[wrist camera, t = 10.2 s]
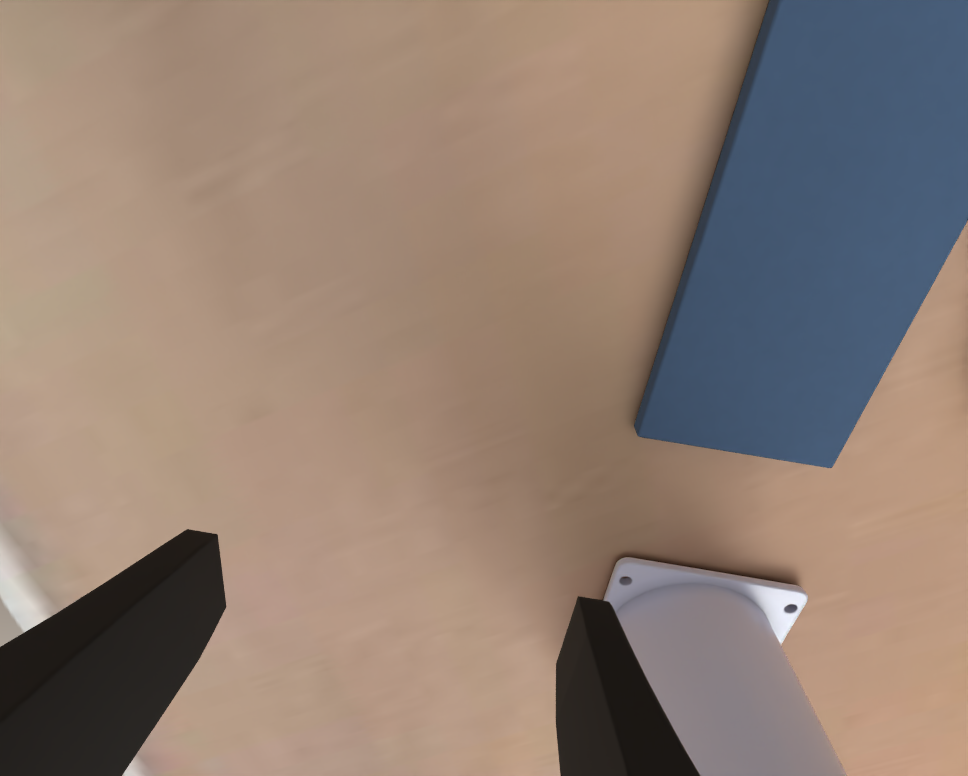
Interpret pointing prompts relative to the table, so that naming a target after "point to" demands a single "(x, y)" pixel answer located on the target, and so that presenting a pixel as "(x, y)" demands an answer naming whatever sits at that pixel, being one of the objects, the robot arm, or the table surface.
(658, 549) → the table surface
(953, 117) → the blue flat rectangular slab
